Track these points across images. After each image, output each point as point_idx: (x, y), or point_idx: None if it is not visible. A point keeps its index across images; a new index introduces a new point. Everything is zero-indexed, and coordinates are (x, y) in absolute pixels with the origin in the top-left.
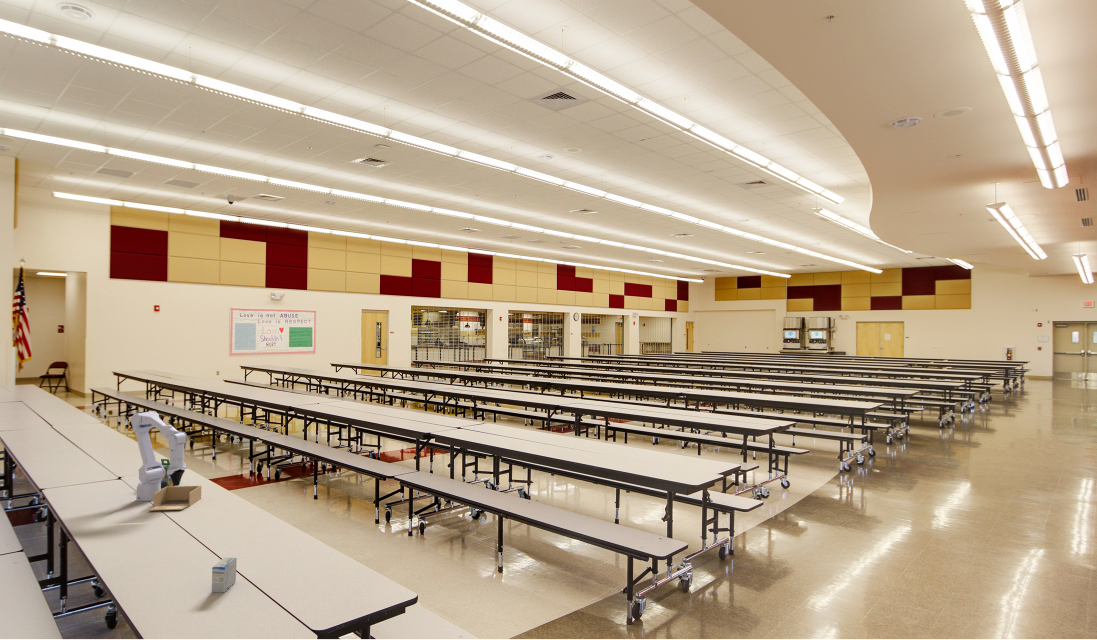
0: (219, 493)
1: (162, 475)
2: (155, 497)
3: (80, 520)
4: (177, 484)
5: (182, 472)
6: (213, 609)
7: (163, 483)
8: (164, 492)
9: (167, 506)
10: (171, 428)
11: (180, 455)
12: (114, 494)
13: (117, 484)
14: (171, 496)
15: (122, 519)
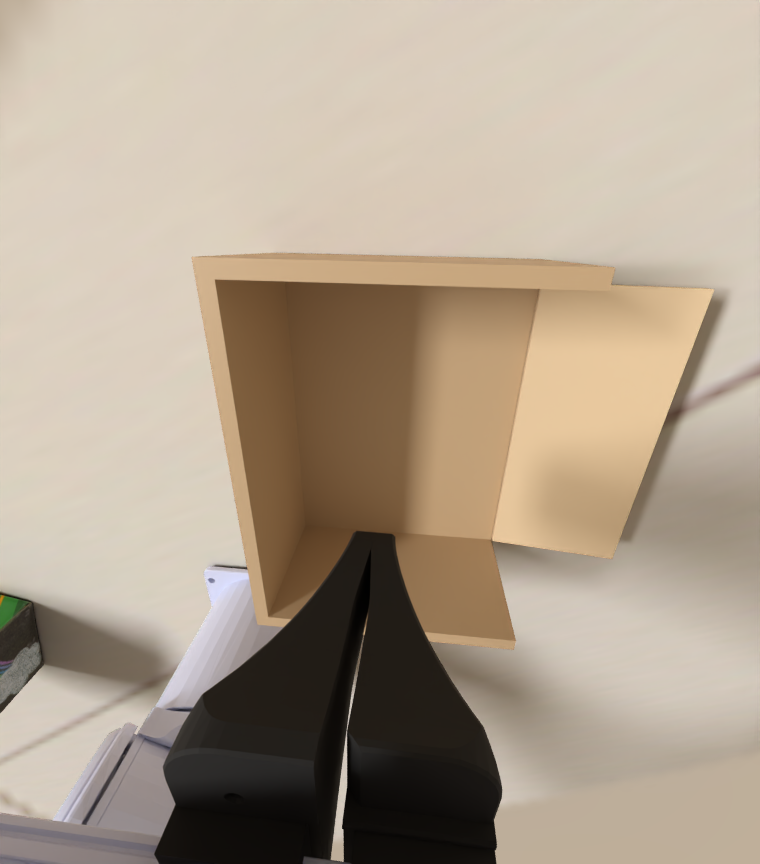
0: (26, 132)
1: (131, 770)
2: (498, 605)
3: (599, 760)
4: (395, 551)
5: (326, 710)
6: None
7: (7, 647)
8: None
9: (514, 463)
10: None
11: None
12: None
13: (45, 771)
14: (293, 517)
15: (679, 627)
